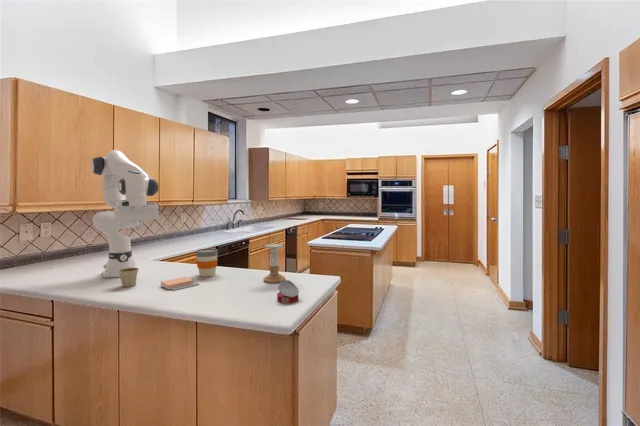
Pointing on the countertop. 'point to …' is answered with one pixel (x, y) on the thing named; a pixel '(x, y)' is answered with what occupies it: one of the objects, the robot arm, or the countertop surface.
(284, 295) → the canned food
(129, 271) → the flower pot
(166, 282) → the tile
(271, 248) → the candle holder
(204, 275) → the reusable coffee cup
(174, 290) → the mat
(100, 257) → the countertop surface
